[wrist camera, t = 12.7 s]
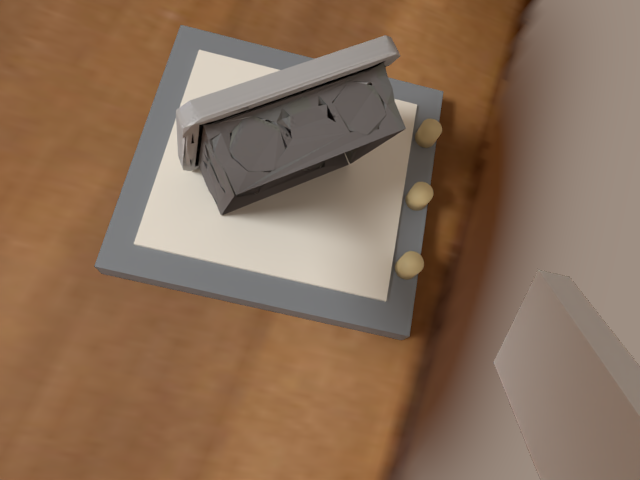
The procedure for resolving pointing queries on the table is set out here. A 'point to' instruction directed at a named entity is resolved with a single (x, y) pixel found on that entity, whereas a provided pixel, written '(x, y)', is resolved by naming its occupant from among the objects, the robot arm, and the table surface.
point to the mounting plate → (278, 209)
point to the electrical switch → (290, 124)
